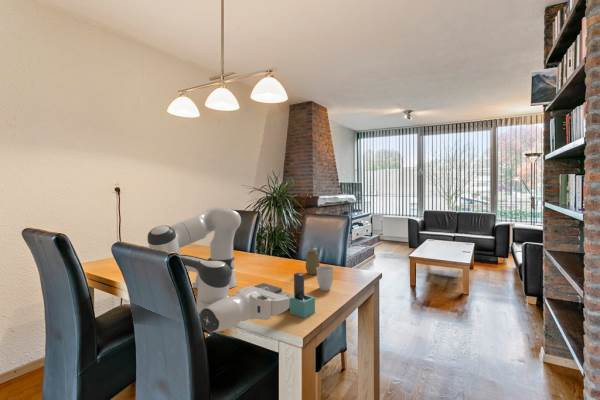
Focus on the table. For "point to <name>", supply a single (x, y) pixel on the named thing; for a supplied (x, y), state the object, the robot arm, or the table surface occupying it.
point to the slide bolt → (297, 288)
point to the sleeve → (272, 288)
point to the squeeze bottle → (312, 260)
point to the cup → (325, 277)
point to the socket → (302, 306)
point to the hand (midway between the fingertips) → (278, 292)
